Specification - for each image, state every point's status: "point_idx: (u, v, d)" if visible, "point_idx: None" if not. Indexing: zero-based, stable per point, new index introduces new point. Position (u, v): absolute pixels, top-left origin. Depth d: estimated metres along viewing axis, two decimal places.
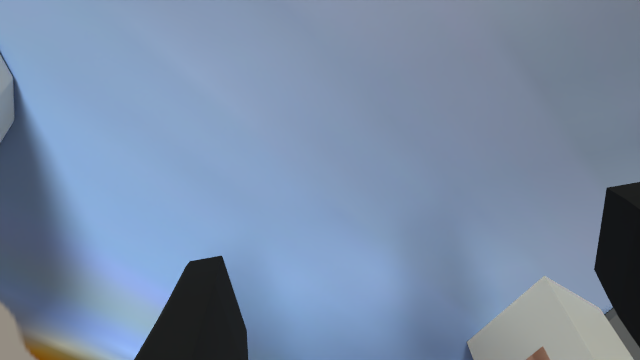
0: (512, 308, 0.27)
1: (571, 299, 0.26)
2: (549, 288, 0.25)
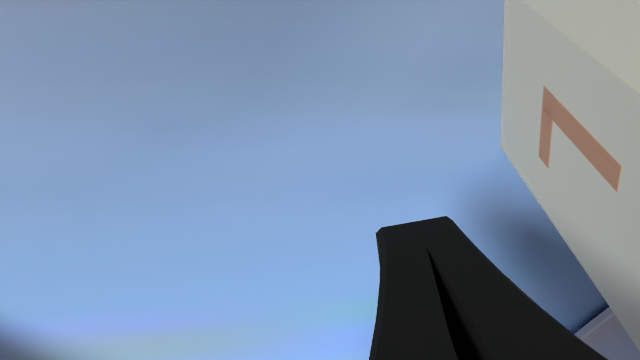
0: (506, 63, 0.16)
1: None
2: None
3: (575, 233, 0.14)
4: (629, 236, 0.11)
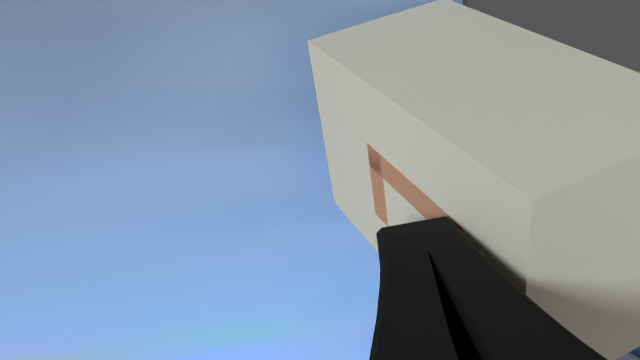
0: (323, 118, 0.15)
1: (369, 34, 0.14)
2: (320, 52, 0.14)
3: None
4: None
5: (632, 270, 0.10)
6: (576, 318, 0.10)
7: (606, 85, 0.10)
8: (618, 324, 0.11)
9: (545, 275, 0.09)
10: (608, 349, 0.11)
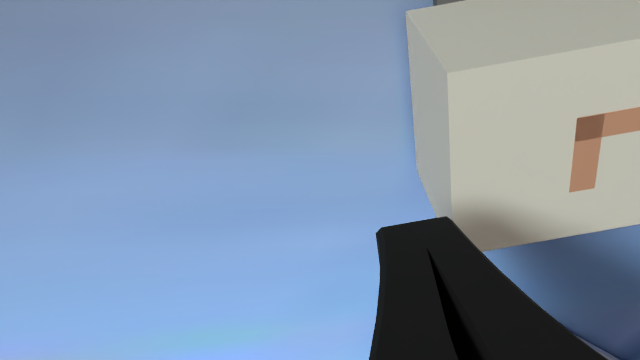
0: (460, 157, 0.13)
1: (467, 42, 0.13)
2: (482, 71, 0.12)
3: None
4: None
5: None
6: None
7: None
8: None
9: None
10: None
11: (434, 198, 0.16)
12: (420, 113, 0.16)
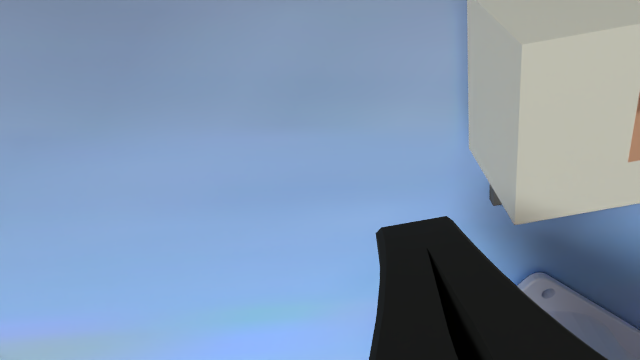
0: (528, 127, 0.14)
1: (536, 18, 0.14)
2: (554, 43, 0.13)
3: None
4: None
5: None
6: None
7: None
8: None
9: None
10: None
11: (492, 171, 0.17)
12: (479, 90, 0.16)
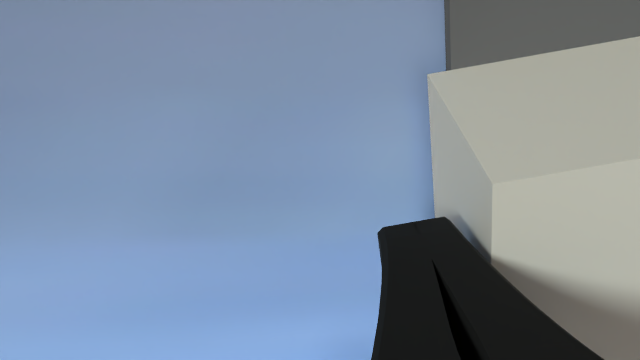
0: None
1: (515, 131, 0.10)
2: (540, 181, 0.09)
3: None
4: None
5: None
6: None
7: None
8: None
9: None
10: None
11: None
12: (445, 201, 0.12)
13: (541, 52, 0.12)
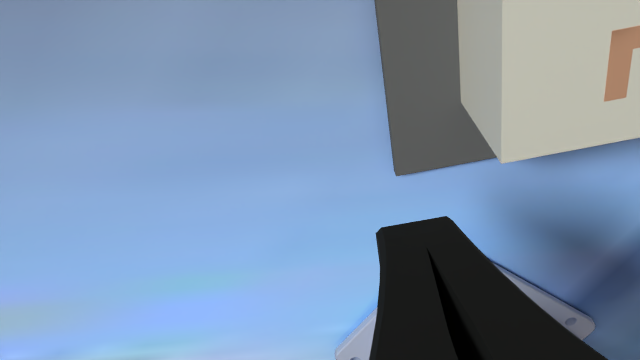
0: (511, 68, 0.15)
1: None
2: None
3: None
4: None
5: None
6: None
7: None
8: None
9: None
10: None
11: (481, 118, 0.18)
12: (468, 42, 0.18)
13: None
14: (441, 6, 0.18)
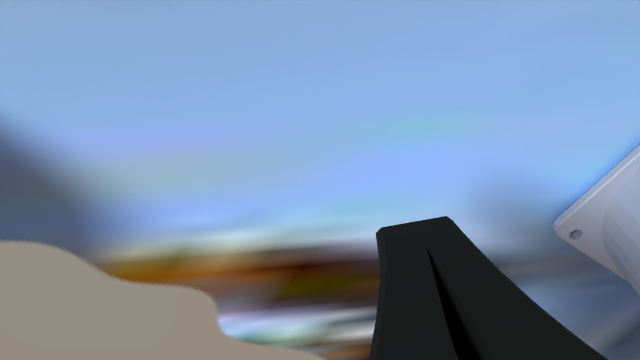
0: None
1: None
2: None
3: None
4: None
5: None
6: None
7: None
8: None
9: None
10: None
11: None
12: None
13: None
14: None
